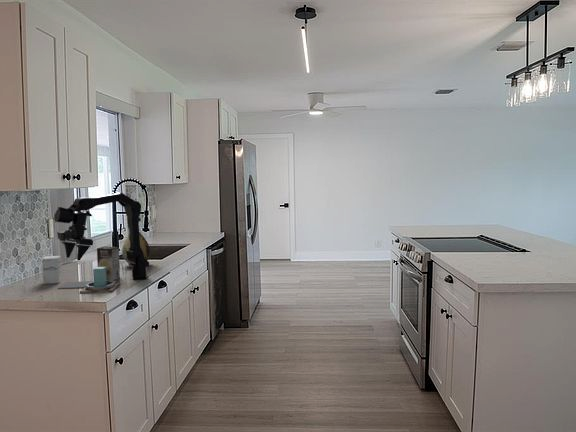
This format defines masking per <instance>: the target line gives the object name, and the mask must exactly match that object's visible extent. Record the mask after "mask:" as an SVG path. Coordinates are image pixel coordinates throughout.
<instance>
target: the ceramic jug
mask: <svg viewBox="0 0 576 432" xmlns="http://www.w3.org/2000/svg"><path fill="white" fill-rule="evenodd" d="M126 218H127V219H126V220H127V225H128V227H129V220H128V217H127V216H126ZM141 220H142V219H141V217H140V216H139V222H141ZM139 234H140V247H141V249H142V251H143V253H144V257H145V259H146V260H147V261H148V260H149V259H150V256H151V248H150V245H149V242H148V241H147V240H146V238H145V237H144V236H143V234H142V233H141V232H140V231H139ZM129 249H130V234H128V235H127V237H126V238H125V240H124V243H123V245H122V251H121V254H122V258H123V260H124V261H125V262H126V263H127V264H128V266H129V267H131V268H133V267H134V266H132V265H131V263H130V262H129V261H128V259H127V253H126V251H129Z"/></svg>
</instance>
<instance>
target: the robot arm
mask: <svg viewBox="0 0 576 432" xmlns="http://www.w3.org/2000/svg"><path fill="white" fill-rule="evenodd" d="M115 202H116V203H118V204H119V205H120V206H122V207H123V209H124V212H125V214H126V218H127V217H128V220H129V226H128V233H129V234H130V249H129V251H126V253H127V259H128V261H129V262H130V263H131V265H132V266H134V267H132V270H131V275H132V276H131V277H132V280H147V278H148V277H149V276H148V267H149V265H150V262H149V261H148V260H146V259H145V257H144V253H143V251H142V249H141V247H140V234H139V232H140V225H139V223H140V221H139V217H140V215H141V214H142V204H141V203H140V202H139V201H137V200H134V199H133V198H131V197H129V196H127V195H126V194H125V193H124V192H116V193H111V194H106V195H101V196H100V195H99V196H95V197H76V198H75V199H74V200H73V203H72V204H71V205H70V206H69V207H68V208H67V207H61V206H58V207H57V210H56V211H55V213H54V215H53V220H54V222H55V223H62V224H67V225H68V224H71V225H69V226H68V229H64V230H63V229H62V230H59V231H57V232H56V233H57V234H56V235H57V239H58V240H59V241H60V243H62V245H64V246H63V247H64V249H65V255H66V258H67V259H69V258H70V257H71V256H72V253H73V251H74V248H75V247H76V248H77V251H76V252H77V254H76V255H77V256H76V257H77V258H76V259H77V261H81V259H82V258H83V257H84V255H85V254H86V252H87V251H88V250H89V249H90V248H91V247H92V246H94V240H93V239H92V238H86V236H85V232H86V231H87V229H88V228H87V227H86V225H87V218H88V217H93V215H92V214H91V212H90V211H89V210H91V209H93V208H95V207H97V206H101V205H106V204H111V203H115ZM129 234H128V235H129Z"/></svg>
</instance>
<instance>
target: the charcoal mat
mask: <svg viewBox="0 0 576 432" xmlns="http://www.w3.org/2000/svg"><path fill="white" fill-rule="evenodd" d="M91 282H94V280H93V281H92V280H88V281H87V280H86V281H85V280H82V281H80V280H79V281H66V282H65V283H63V284H62V285H60V286H59V287H57V289H58V290H65V289H66V290H69V289H83V288H85V287H86V284H88V283H91Z"/></svg>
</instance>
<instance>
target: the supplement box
mask: <svg viewBox="0 0 576 432" xmlns="http://www.w3.org/2000/svg"><path fill="white" fill-rule="evenodd" d="M61 257H62V256H61V255H52V256H51V255H47V256H44V257H42V258H41V264H42V265H41V266H42V267H41V268H42V284H43V285H45V284H59V283H61V281H62V280H63V279H62V258H61Z"/></svg>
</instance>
